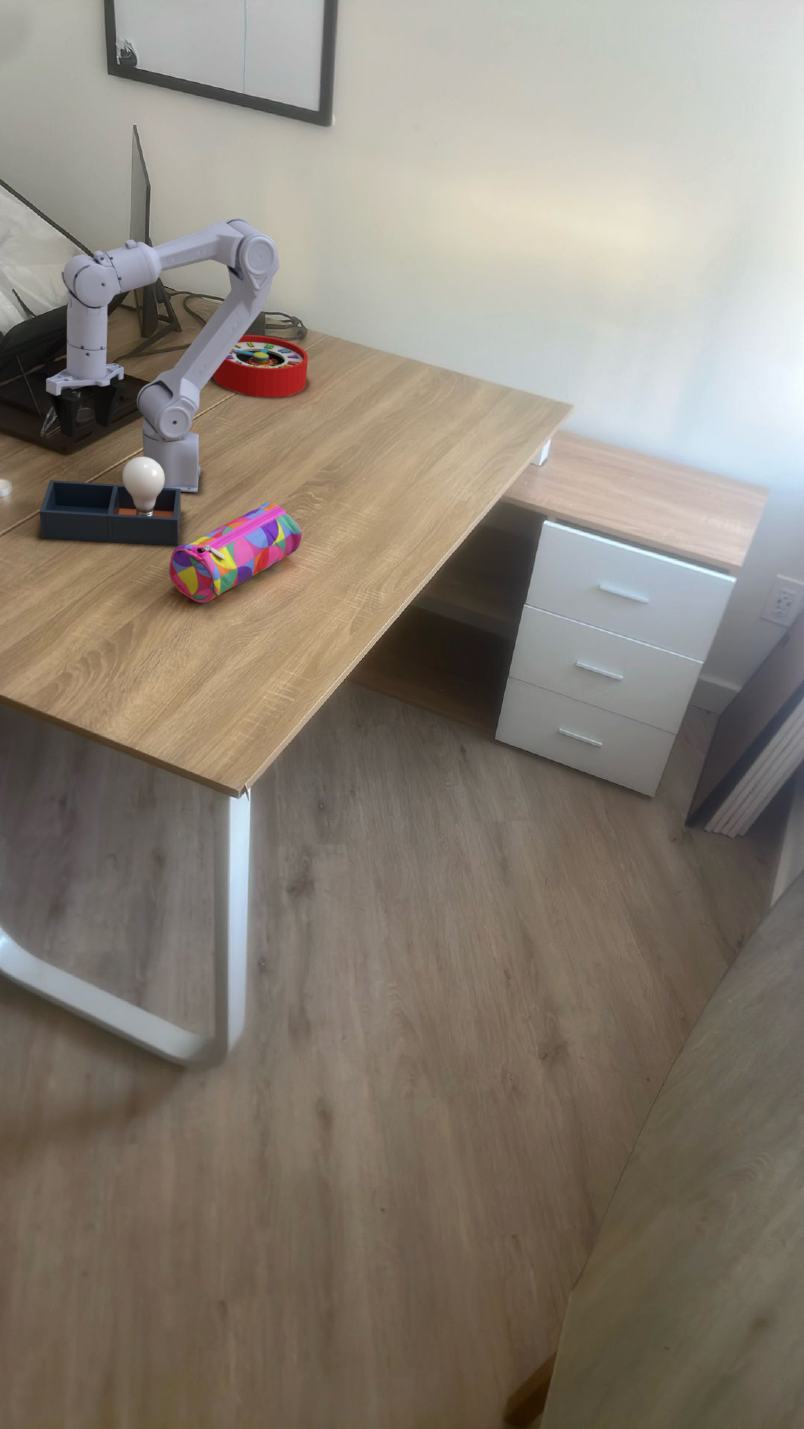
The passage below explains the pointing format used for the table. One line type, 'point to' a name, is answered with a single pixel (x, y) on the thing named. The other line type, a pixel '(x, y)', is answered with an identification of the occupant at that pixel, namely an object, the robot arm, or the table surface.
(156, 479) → the lightbulb
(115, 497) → the organiser
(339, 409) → the table surface
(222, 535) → the pencil case
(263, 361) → the toy clock
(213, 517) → the table surface
